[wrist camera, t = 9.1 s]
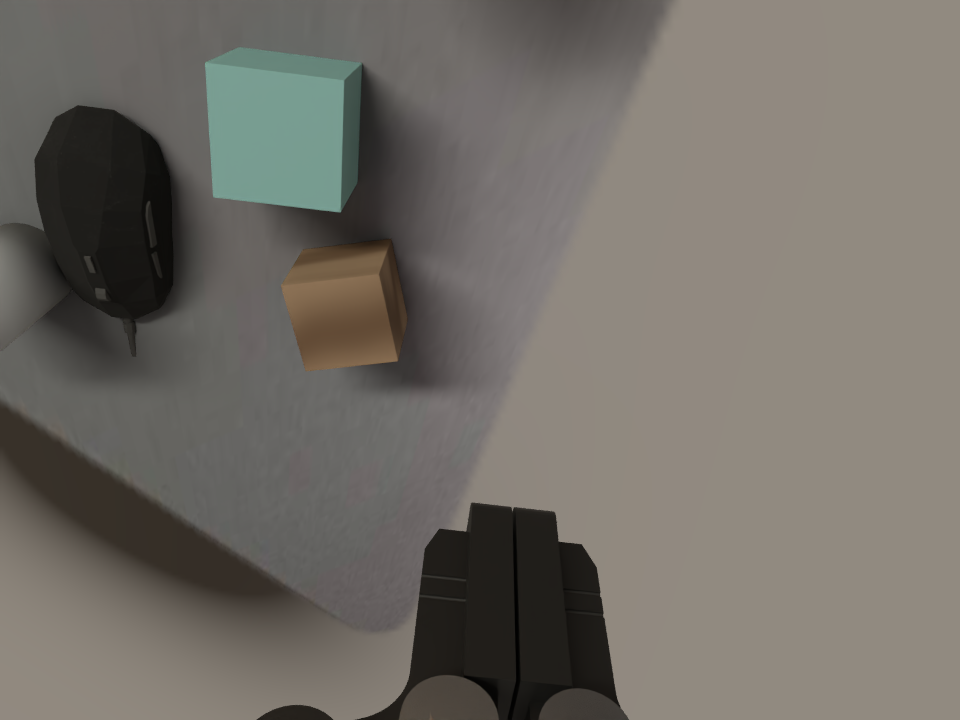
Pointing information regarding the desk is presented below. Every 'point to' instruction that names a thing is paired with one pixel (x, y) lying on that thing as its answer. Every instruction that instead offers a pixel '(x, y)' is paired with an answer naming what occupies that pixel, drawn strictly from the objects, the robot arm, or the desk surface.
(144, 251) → the gaming mouse
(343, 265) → the walnut block
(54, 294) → the grey cylinder
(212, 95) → the teal block
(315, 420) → the desk surface
